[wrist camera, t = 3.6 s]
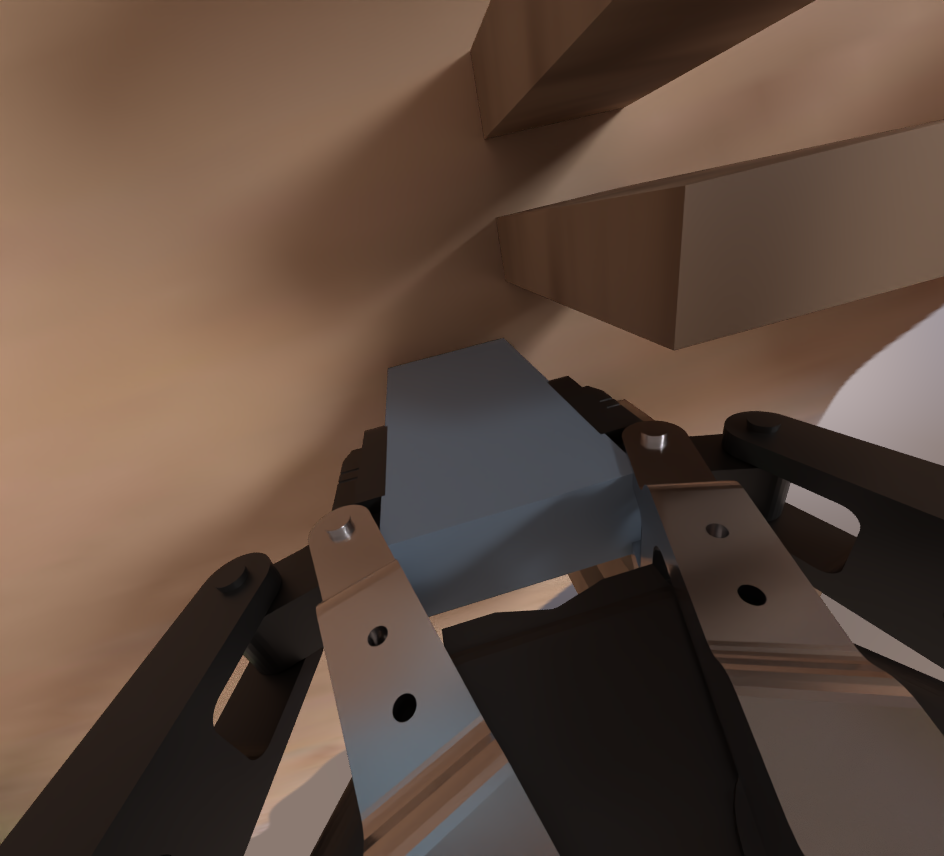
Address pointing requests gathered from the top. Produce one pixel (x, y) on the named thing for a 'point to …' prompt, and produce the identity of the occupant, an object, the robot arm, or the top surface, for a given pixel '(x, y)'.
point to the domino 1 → (496, 479)
